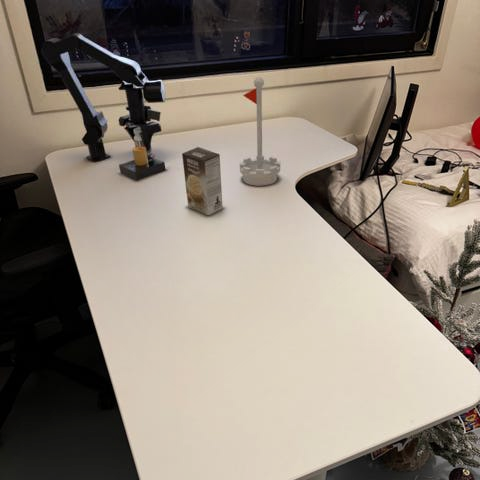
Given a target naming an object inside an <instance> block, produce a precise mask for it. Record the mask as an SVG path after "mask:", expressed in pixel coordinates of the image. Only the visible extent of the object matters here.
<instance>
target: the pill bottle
mask: <svg viewBox="0 0 480 480" xmlns="http://www.w3.org/2000/svg"><path fill="white" fill-rule="evenodd" d="M141 132H142V131H141V127H139V128H135V129H134V134H135V136H134V141H133V143H134V148H135V147H138V146H143V147H145V146H144V144H143V142H142V139H141V137H140V135H139V133H141ZM146 153H147V156H151V157H153V149H152V144H151V145H150V150H149V151H147V150H146Z"/></svg>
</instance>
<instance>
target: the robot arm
mask: <svg viewBox="0 0 480 480" xmlns="http://www.w3.org/2000/svg"><path fill="white" fill-rule="evenodd" d="M73 50H77V51H78V52H80V53H82V54H84V55H85V56H87V57H89V58H91V59H93V60H95V61H96V62H98V63H99V64H101V65H103V66H105V67H107V68H108V69H110V70H111V71H112V72H113V73H114V74H115V76H117V77H118V78H119V79H121V80H122V81H121V84H120V86H119V87H118V88H117V89H118V90H119V91H125V97H126V102H127V103H126V104H127V106H125V110H126V111H128V114H125V115H122V116H119V117H118V124H119V127H120V126H121V127H123V129H124V130H125V131H126V133H127V134H128V135H129V137H130V138H131V139H132V141H133V142H134V136H135V134H134V129H135V128H139V127H141V131H142V132H141V133H139V135H140V137H141V139H142V142H143V144H144V146H145V147H146V150H147V151H149V150H150V145H151V146H152V139H153V136H154V134H157V133H161V132H162V125H161V124H160V123H159V122H160V121H161V115H162V114H161V113H162V112H161V111H158V110H155V109H152V107H151V106H150V105H147V104H145V102H147V103H149V104H154V103H155V104H156V103H157V104H158V103H162V104H163V103H166V99H167V98H166V96H167V95H166V89H165V85H164V84H163V80H162V79H157V80H149V79H148V78H147V76H146V75H145V73H143V71H142V70H141V66H140V64H139V63H138V62H136V61H135V60H132V59H130V58H127V57H124V56H119V55H116V54H114V53H112V52H111V51H110V50H107V49H106V48H104V47H102V46H100V44H99V45H98V44H97V43H95V42H93V41H91V40H90V39H89V38H86V37H85V36H83V34H81V33H79V32H74V33H73V34H71V35H70V36H67V37H63V38H61V39H60V38H57V37H53V38H50V39H47V40H45V41H44V42H42V45H41V48H40V51H41V54H42V56H43V57H44V58H45V60H46V62H47V63H48V64H49V65H50V66H51V67H52V68H53V69H54V70H55V71H56V72H57V73H58V74H59V76H60V77H61V80H62V82H63V84H64V85H65V86H66V88H67V91H68V93H69V94H70V96H71V98H72V100H73V101H74V102H75V105H76V106H77V108H78V110H79V112H80V113H81V118H82V123H83V126H84V129H85V131H86V132H85V134H84V135H83V136H82V138H81V141H82V143H83V144H84V145H85V146H87V149H88V153H89V154H88V155H87V156H86V159H88V160H90V161H93V162H99V161H102V160H105V159H108V158H111V155H109V154H107V153H106V149H105V145H104V140H103V138H104V137H105V134H106V132H107V131H108V122H109V121H108V120H107V119H106V118H105V114H104V113H103V111H102V110H100V111H97V110H96V109H95V107H94V105H92V103H91V101H90V99H89V96H88V95H87V93H86V92H85V90H84V88H83V86H82V84H81V82H80V80H79V79H78V76H77V75H76V73H75V71H74V69H73V67H72V64H71V59H70V55H69V52H71V51H73ZM152 120H153V121H152ZM156 121H157V122H156Z"/></svg>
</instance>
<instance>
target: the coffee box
mask: <svg viewBox="0 0 480 480" xmlns="http://www.w3.org/2000/svg"><path fill="white" fill-rule="evenodd" d="M181 156H182V166H183V174H184V182H185V184H184V185H185V191H186V192H185V193H186V201H187V207H188V208H189V209H192V210H194V211H195V212H199V213H201V214H204V215H206V216H210V215H213V214H214V213H217V212H218V211H220V210H223V207H224V206H223V191H222V190H223V189H222V174H221V173H222V172H221V154H220V153H217V152H214V151H211V150H208V149H205V148H202V147H200V146H196V147H194V148H192V149H189V150H187V151H184V152H182V153H181Z"/></svg>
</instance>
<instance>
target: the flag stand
mask: <svg viewBox="0 0 480 480" xmlns="http://www.w3.org/2000/svg"><path fill="white" fill-rule="evenodd" d="M264 85H265V81H264V78H262V77H261V76H258V77H256V78H255V79H254V81H253V86H254V87H255V88H254V89H252V90H249V91H248V92H246V93H244V94H243V95H242V96H243V97H245V98H246V99H248V100H249V101H250V102H252V103H254V104H255V105H256V148H257V149H256V151H257V152H256V153H257V154H256V155H255V159H252V158H251V157H250V156H247V157H245V158H243V161H239V173H240V174H241V175H242V177H243V178H242V180H243V182H244V183H245V184H247V185H250V186H256V187H257V186H258V187H261V186H268V185H272V184H275V182H276V181H278V174H279V173H280V172H281V160H278V159H277V157H274V156H269V158H265V155H263V97H262V96H263V93H262V92H263V91H262V88H263V86H264Z"/></svg>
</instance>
